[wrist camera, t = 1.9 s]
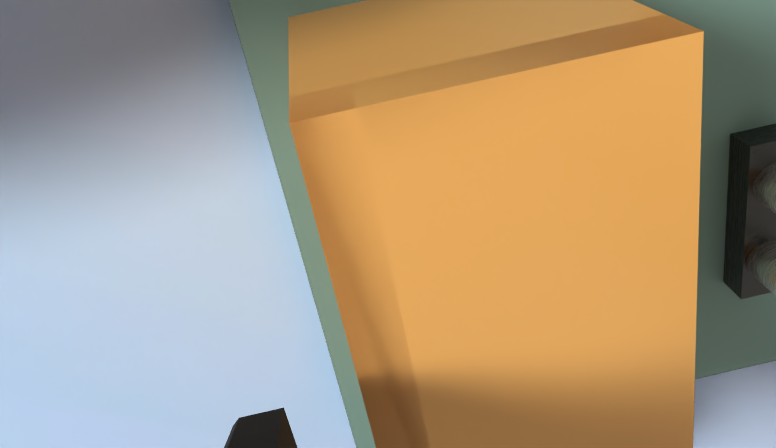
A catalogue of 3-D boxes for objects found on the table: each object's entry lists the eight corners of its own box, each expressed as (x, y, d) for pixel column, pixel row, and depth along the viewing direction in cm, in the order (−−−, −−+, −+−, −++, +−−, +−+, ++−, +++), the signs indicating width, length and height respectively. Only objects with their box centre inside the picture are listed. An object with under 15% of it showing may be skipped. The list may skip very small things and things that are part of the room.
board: (806, 326, 20) (832, 350, 19) (355, 430, 20) (359, 460, 19) (930, -734, 11) (993, -792, 10) (75, -565, 10) (54, -607, 10)
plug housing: (579, 420, 19) (688, 632, 14) (399, 462, 19) (441, 692, 14) (543, -39, 14) (703, 30, 8) (287, 17, 14) (289, 122, 8)
